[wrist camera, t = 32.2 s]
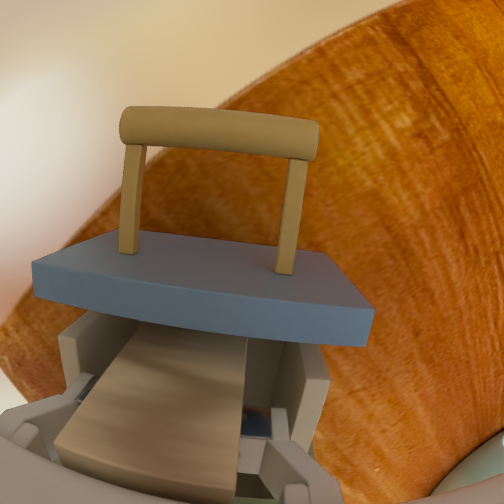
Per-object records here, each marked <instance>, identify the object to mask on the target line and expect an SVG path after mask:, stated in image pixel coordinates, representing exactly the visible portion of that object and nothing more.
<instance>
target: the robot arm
mask: <svg viewBox="0 0 504 504" xmlns="http://www.w3.org/2000/svg"><path fill="white" fill-rule="evenodd" d="M100 378H101V377H100V376H97V375H93V374H90V373H87V372H81V373H80V374H79V375H78V377H77V378H76V379H75V380H74V381H73V382H72V383H71V385H70V386H69V387H68V388H67V389H66V390H65V392H64V393H63V394H62V395H59V394H57V395H54V396H51V397H48V398H44V399H41V400H38V401H35V402H31V403H28V404H25V405H21V406H18V407H15V408H11V409H8V410H5V411H4V412H3V413H2V414H1V415H0V504H191V503H186V502H180V501H175V500H170V499H166V498H161V497H157V496H153V495H149V494H145V493H141V492H137V491H133V490H130V489H126V488H123V487H120V486H116V485H113V484H110V483H107V482H104V481H101V480H98V479H95V478H92V477H90V476H87V475H84V474H82V473H79V472H76V471H74V470H71V469H69V468H67V467H64V466H62V465H59V464H57V463H55V462H53V460H54V459H56V458H58V457H59V456H58V453H57V451H56V448H55V446H54V441H55V439H56V438H57V436H58V435H59V434H60V432H61V431H62V429H63V428H64V427H65V425H66V424H67V422H68V421H69V420H70V418H71V417H72V415H73V414H74V413H75V411H76V410H77V409H78V407H79V406H80V405H81V403H82V402H83V400H84V399H85V398H86V396H87V395H88V394H89V392H90V391H91V390H92V388H93V387H94V386H95V384H96V383H97V382H98V380H99V379H100ZM237 472H240V473H248V474H258V476H259V478H260V479H261V480H262V482H263V483H264V485H265V486H266V487H267V489H268V490H269V492H270V493H271V494H272V496H273V497H274V498H275V500H276V501H277V503H278V504H344V501H343V496H342V492H341V488H340V483H339V481H337V480H336V479H335V478H334V477H333V476H332V475H331V474H329V473H328V472H327V471H326V470H325V469H324V468H323V467H322V466H321V465H319V464H318V463H317V462H316V461H315V460H314V459H313V458H312V457H311V456H310V455H309V454H308V453H306V452H305V451H304V450H303V449H302V448H301V447H300V446H299V445H298V444H297V443H296V442H295V441H290V438H289V428H288V419H287V410H286V408H281V407H261V406H251V405H243V406H242V419H241V431H240V444H239V456H238V469H237ZM395 504H504V473H502V474H499V475H496V476H493V477H490V478H488V479H485V480H482V481H479V482H477V483H474V484H471V485H468V486H465V487H461V488H458V489H455V490H451V491H448V492H444V493H441V494H437V495H433V496H429V497H425V498H420V499H416V500H411V501H406V502H401V503H395Z"/></svg>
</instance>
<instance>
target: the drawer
mask: <svg viewBox="0 0 504 504" xmlns="http://www.w3.org/2000/svg"><path fill="white" fill-rule="evenodd" d="M119 133H120V138H121V140H122V142H123V143H124V144H126V152H125V161H124V171H123V180H122V192H121V205H120V222H119V229H116V230H113V231H110V232H107V233H105V234H102V235H99V236H96V237H94V238H91V239H88V240H86V241H83V242H80V243H78V244H75V245H73V246H70V247H67V248H65V249H62V250H60V251H57V252H55V253H52V254H50V255H47V256H45V257H42V258H40V259H37V260H35V261H33V262H32V278H33V290H34V296H35V297H38V298H42V299H45V300H49V301H53V302H57V303H61V304H65V305H69V306H74V307H78V308H82V309H87V310H88V311H87V312H86V313H84V314H83V315H82V316H81V317H79V318H78V319H77V320H76V321H75V322H73V323H72V324H71V325H70V326H68V327H67V328H66V329H65V330H64V331H62V332H61V333H60V334H59V335H58V341H59V347H60V354H61V359H62V365H63V370H64V375H65V380H66V385H67V388H68V387H69V386H70V385H71V383H72V382H73V381H74V380H75V379H76V378H77V377H78V375H79V374H80V373H81V372H87V373H90V374H93V375H97V376H100V377H101V376H102V375H103V374H104V372H105V371H106V370H107V368H108V367H109V366H110V364H111V363H112V362H113V360H114V359H115V358H116V357H117V355H118V354H119V353H120V351H121V350H122V349H123V347H124V346H125V345H126V344H127V342H128V341H129V340H130V338H131V337H132V336H133V335H134V333H135V332H136V331H137V330H138V328H139V327H140V326H141V324H142V323H143V322H144V321H145V322H150V323H156V324H162V325H167V326H173V327H179V328H186V329H192V330H199V331H205V332H212V333H219V334H227V335H234V336H242V337H248V342H247V355H246V368H245V380H244V393H243V405H251V406H261V407H281V408H286V410H287V419H288V428H289V438H290V441H295V442H296V443H297V444H298V445H299V446H300V447H301V448H302V449H303V450H304V451H305V452H306V453H307V452H308V450H309V447H310V444H311V441H312V438H313V436H314V433H315V430H316V427H317V424H318V421H319V418H320V415H321V412H322V409H323V405H324V402H325V399H326V396H327V393H328V389H329V386H330V382H331V378H330V375H329V372H328V369H327V366H326V363H325V360H324V357H323V354H322V352H321V349H320V346H319V344H324V345H338V346H356V347H365V346H366V344H367V340H368V336H369V333H370V329H371V326H372V322H373V318H374V314H375V309H374V307H373V306H372V305H371V304H370V303H369V302H368V300H367V299H366V298H365V297H364V296H363V295H362V294H361V292H360V291H359V290H358V289H357V288H356V287H355V286H354V284H353V283H352V282H351V281H350V280H349V279H348V278H347V276H346V275H345V274H344V273H343V272H342V271H341V270H340V269H339V267H338V266H337V265H336V264H335V263H334V262H333V261H332V260H331V259H330V257H329V256H328V255H327V254H326V253H322V252H314V251H306V250H298V249H296V247H297V240H298V233H299V227H300V220H301V212H302V205H303V198H304V190H305V183H306V175H307V167H308V162H312V161H313V160H314V158H315V156H316V153H317V148H318V143H319V123H318V122H317V121H313V120H307V119H300V118H294V117H287V116H280V115H272V114H264V113H255V112H246V111H236V110H224V109H210V108H193V107H164V106H130V107H127V108H126V109H125V110H124V111H123V113H122V116H121V119H120V125H119ZM146 146H163V147H180V148H194V149H207V150H218V151H228V152H238V153H247V154H256V155H264V156H272V157H280V158H287V159H290V160H289V161H288V167H287V175H286V183H285V191H284V199H283V206H282V214H281V221H280V229H279V236H278V243H277V247H275V246H267V245H259V244H250V243H242V242H234V241H226V240H218V239H210V238H202V237H193V236H185V235H177V234H168V233H160V232H151V231H143V230H139V229H140V214H141V200H142V189H143V178H144V169H145V160H146V151H147V147H146ZM235 496H238V497H249V498H264V499H275V498H274V497H273V496H272V494H271V493H270V492H269V490H268V489H267V487H266V486H265V485H264V483H263V482H262V480H261V479H260V478H259V476H258V474H248V473H240V472H237V481H236V491H235Z"/></svg>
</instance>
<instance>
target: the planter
mask: <svg viewBox="0 0 504 504" xmlns="http://www.w3.org/2000/svg"><path fill="white" fill-rule="evenodd" d="M502 473H504V430H503V431H502V432H500V433H499V434H497V435H496V436H494V437H493V438H491V439H490V440H488V441H487V442H485V443H484V444H483V445H481V446H480V447H479V448H478V449H476V450H475V451H474V452H472V453H471V454H470V455H469V456H468V457H466V458H465V459H464V460H463V461H462V462H461V463H460V464H458V465H457V466H456V467H455V468H454V469H453V470H452V471H451V472H450V473H449V474H448V475H447V476H446V477H445V478H444V479H443V480H442V481H441V482H440V483H439V485H438V486H437V487H436V488H435V490H434V491H433V492H432V494H431V495H430V496H433V495H437V494H441V493H444V492H448V491H451V490H455V489H458V488H461V487H465V486H468V485H471V484H474V483H477V482H479V481H482V480H485V479H488V478H490V477H493V476H496V475H499V474H502Z"/></svg>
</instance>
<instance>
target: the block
mask: <svg viewBox="0 0 504 504" xmlns="http://www.w3.org/2000/svg"><path fill="white" fill-rule="evenodd" d="M247 342H248V337H242V336H234V335H227V334H219V333H212V332H205V331H199V330H192V329H186V328H179V327H173V326H167V325H162V324H156V323H150V322H145V321H144V322H143V323H142V324H141V326H140V327H139V328H138V330H137V331H136V332H135V333H134V335H133V336H132V337H131V338H130V340H129V341H128V342H127V344H126V345H125V346H124V347H123V349H122V350H121V351H120V353H119V354H118V355H117V357H116V358H115V359H114V360H113V362H112V363H111V364H110V366H109V367H108V368H107V370H106V371H105V372H104V374H103V375H102V376H101V378H100V379H99V380H98V382H97V383H96V384H95V386H94V387H93V388H92V390H91V391H90V392H89V394H88V395H87V396H86V398H85V399H84V400H83V402H82V403H81V405H80V406H79V407H78V409H77V410H76V411H75V413H74V414H73V415H72V417H71V418H70V420H69V421H68V422H67V424H66V425H65V427H64V428H63V429H62V431H61V432H60V434H59V435H58V436H57V438H56V439H55V441H54V446H55V448H56V451H57V453H58V456H59V458H60V461H61V463H62V465H63V466H64V467H67V468H69V469H71V470H74V471H76V472H79V473H82V474H84V475H87V476H90V477H92V478H95V479H98V480H101V481H104V482H107V483H110V484H113V485H116V486H120V487H123V488H126V489H130V490H133V491H137V492H141V493H145V494H149V495H153V496H157V497H161V498H166V499H170V500H175V501H180V502H186V503H191V504H233V502H234V496H235V491H236V481H237V469H238V456H239V444H240V431H241V419H242V406H243V393H244V380H245V368H246V355H247Z"/></svg>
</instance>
